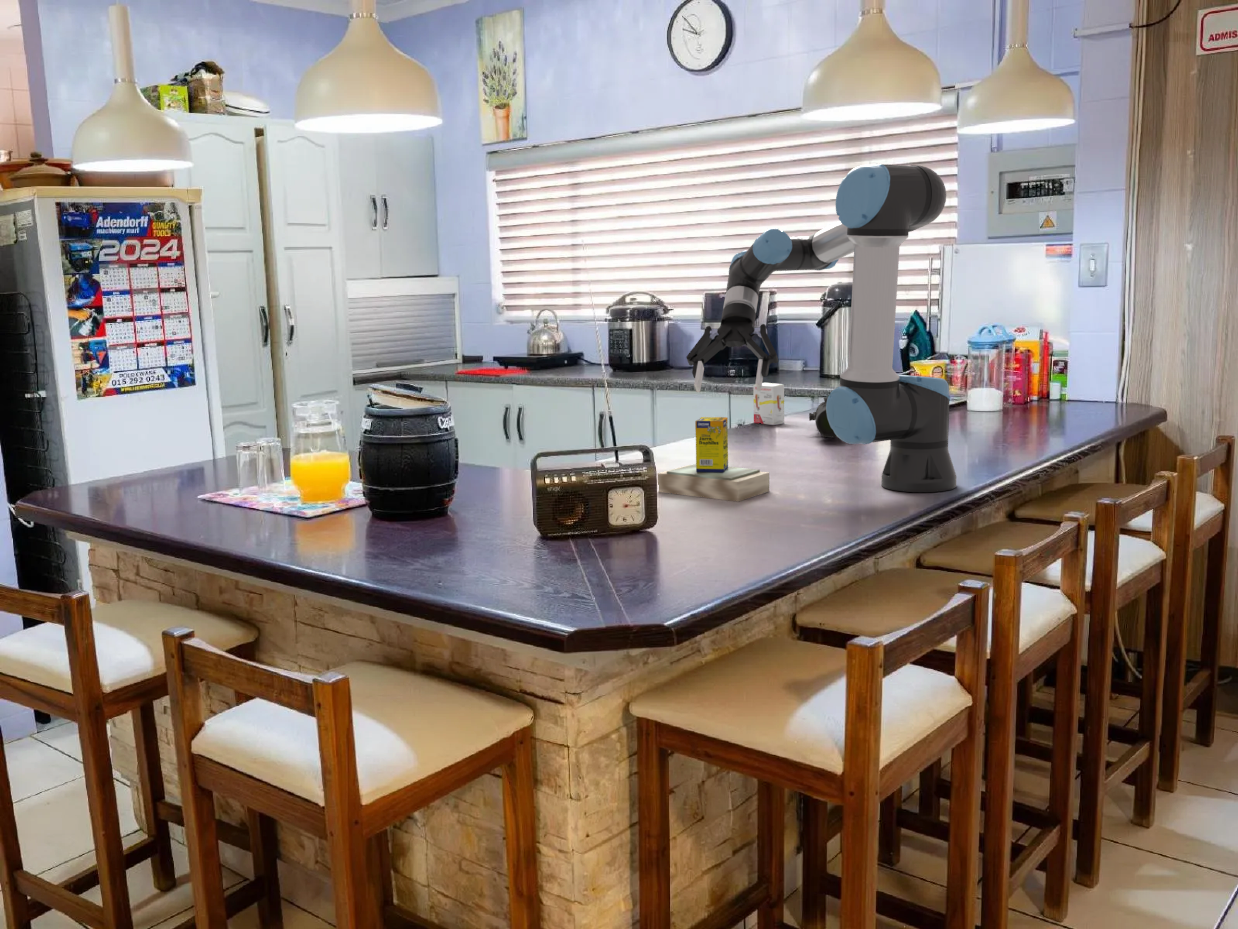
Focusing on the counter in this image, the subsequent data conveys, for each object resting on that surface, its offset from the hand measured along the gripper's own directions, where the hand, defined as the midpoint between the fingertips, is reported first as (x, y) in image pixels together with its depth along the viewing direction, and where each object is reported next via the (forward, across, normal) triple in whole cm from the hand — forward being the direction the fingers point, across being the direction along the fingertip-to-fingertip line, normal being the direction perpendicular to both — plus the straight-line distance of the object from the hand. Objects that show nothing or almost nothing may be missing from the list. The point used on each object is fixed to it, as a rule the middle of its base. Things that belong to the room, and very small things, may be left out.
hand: (727, 388), depth 242 cm
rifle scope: (-32, -11, -67) cm, 75 cm away
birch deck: (+23, +1, -5) cm, 24 cm away
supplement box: (+20, +1, -2) cm, 20 cm away
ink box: (-46, +10, -82) cm, 95 cm away
